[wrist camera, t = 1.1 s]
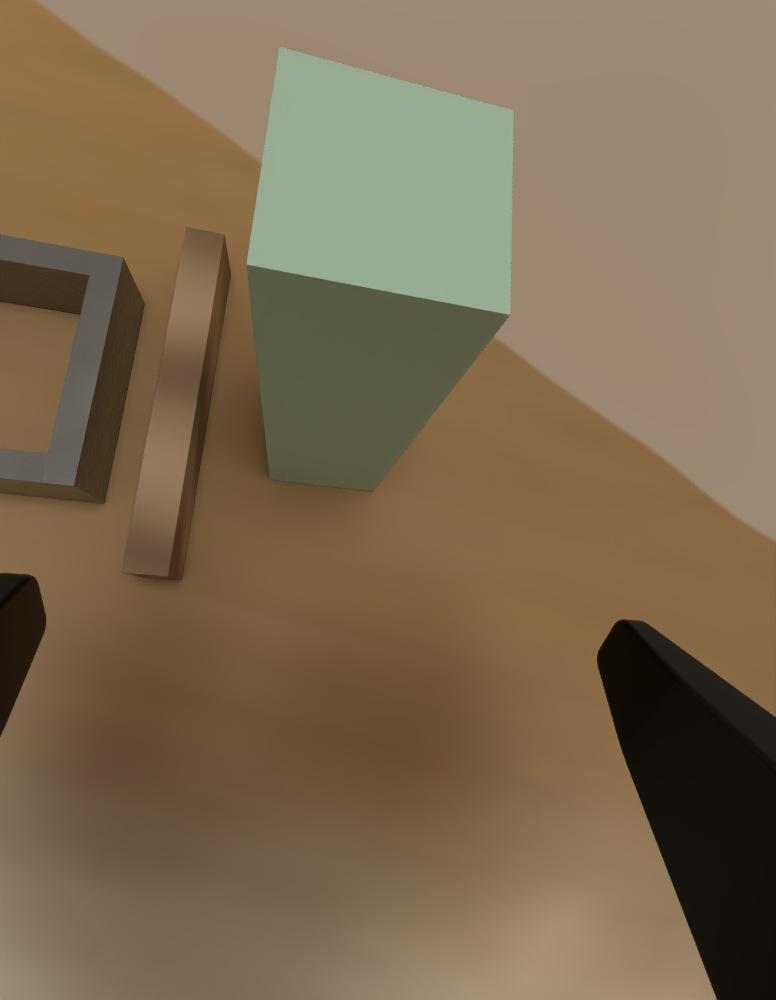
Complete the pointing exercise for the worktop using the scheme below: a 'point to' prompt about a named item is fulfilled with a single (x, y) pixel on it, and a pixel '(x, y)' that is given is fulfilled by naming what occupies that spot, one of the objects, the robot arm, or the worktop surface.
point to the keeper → (75, 364)
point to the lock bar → (372, 263)
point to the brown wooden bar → (180, 411)
